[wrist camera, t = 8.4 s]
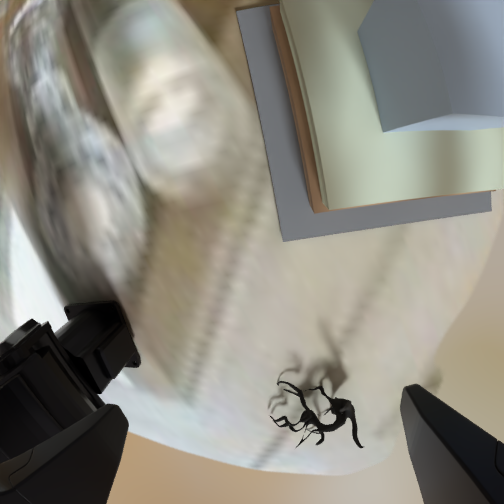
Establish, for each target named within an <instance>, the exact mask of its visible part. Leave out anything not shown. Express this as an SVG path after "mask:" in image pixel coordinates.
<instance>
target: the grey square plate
mask: <svg viewBox="0 0 504 504" xmlns="http://www.w3.org/2000/svg"><path fill="white" fill-rule="evenodd" d="M278 5H280V4H274V5H267V6H261V7H255V8H250V9H245V10H240V11H236V13H237V17H238V21H239V25H240V30H241V34H242V38H243V42H244V47H245V51H246V55H247V60H248V64H249V69H250V73H251V78H252V82H253V87H254V92H255V96H256V101H257V106H258V111H259V116H260V120H261V125H262V130H263V135H264V140H265V145H266V150H267V156H268V161H269V166H270V171H271V177H272V182H273V187H274V193H275V198H276V204H277V209H278V215H279V221H280V227H281V232H282V238H283V242H286V241H293V240H299V239H306V238H312V237H319V236H325V235H332V234H339V233H345V232H352V231H359V230H365V229H372V228H379V227H386V226H392V225H399V224H406V223H413V222H420V221H426V220H433V219H440V218H447V217H454V216H461V215H468V214H475V213H482V212H489V211H492V209H491V191H489V192H479V193H470V194H460V195H451V196H443V197H434V198H426V199H417V200H409V201H401V202H394V203H386V204H379V205H371V206H364V207H357V208H350V209H343V210H336V211H329V212H322V213H315V214H314V212H313V210H312V209H311V207H310V203H309V197H308V191H307V185H306V179H305V173H304V168H303V162H302V157H301V151H300V146H299V141H298V136H297V131H296V126H295V121H294V116H293V112H292V107H291V102H290V98H289V93H288V89H287V85H286V80H285V76H284V72H283V68H282V64H281V60H280V56H279V52H278V48H277V44H276V40H275V36H274V33H273V29H272V23H271V15H270V8H269V7H271V6H278Z"/></svg>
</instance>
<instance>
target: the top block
mask: <svg viewBox="0 0 504 504" xmlns="http://www.w3.org/2000/svg"><path fill="white" fill-rule="evenodd" d="M357 33H358V36H359V39H360V42H361V45H362V48H363V52H364V55H365V58H366V62H367V65H368V69H369V73H370V77H371V81H372V84H373V89H374V93H375V97H376V101H377V106H378V111H379V115H380V120H381V125H382V131H383V133H386V132H404V131H431V130H470V131H471V130H480V129H490V128H502V127H504V0H374V1H373V3H372V5H371V7H370V9H369V11H368V12H367V14H366V16H365V18H364V20H363V22H362V24H361V25H360V27H359V29H358V31H357Z"/></svg>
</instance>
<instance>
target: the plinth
mask: <svg viewBox="0 0 504 504" xmlns="http://www.w3.org/2000/svg"><path fill="white" fill-rule="evenodd" d="M373 1H374V0H279V2H280V5H278V6H271V7H269V8H270V15H271V23H272V29H273V33H274V36H275V40H276V44H277V48H278V52H279V56H280V60H281V64H282V68H283V72H284V76H285V80H286V85H287V89H288V93H289V98H290V102H291V107H292V112H293V116H294V121H295V126H296V131H297V136H298V141H299V146H300V151H301V157H302V162H303V168H304V173H305V179H306V185H307V191H308V197H309V203H310V207H311V209H312V210H313V212H314V214H315V213H322V212H329V211H336V210H343V209H350V208H357V207H364V206H371V205H379V204H386V203H394V202H401V201H409V200H417V199H426V198H434V197H443V196H451V195H460V194H470V193H479V192H489V191H496V190H498V189H504V127H502V128H490V129H480V130H471V131H470V130H431V131H404V132H386V133H383V131H382V125H381V120H380V115H379V111H378V106H377V101H376V97H375V93H374V89H373V84H372V81H371V77H370V73H369V69H368V65H367V62H366V58H365V55H364V52H363V48H362V45H361V42H360V39H359V36H358V33H357V31H358V29H359V27H360V25H361V24H362V22H363V20H364V18H365V16H366V14H367V12H368V11H369V9H370V7H371V5H372V3H373Z"/></svg>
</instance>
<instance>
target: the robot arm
mask: <svg viewBox="0 0 504 504" xmlns="http://www.w3.org/2000/svg"><path fill="white" fill-rule="evenodd" d="M112 306H113V307H114V308H112ZM69 310H70V311H69ZM64 311H65V313H66V316H67V318H68V322H67V323H66V324H65V325H63V326H62V327H61V328H60V329H59V330H57V331H56V332H55V333H54V332H53V331H52V329H51V328H52V327H51V325H50V324H49V322H48V321H47V322H45V323H43V324H40V323H38V322H36V321H35V320H33V319H30V320H28V321H27V322H26V323H24V324H23V325H22V326H20V327H19V328H18V329H16V330H15V331H14V332H13V333H11V334H10V335H9V336H8V337H7V338H6V339H5V340H4V341H3V342H1V343H0V504H106V503H107V500H108V497H109V494H110V491H111V488H112V485H113V482H114V478H115V476H116V473H117V470H118V467H119V464H120V461H121V456H122V453H123V448H124V444H125V440H126V435H127V431H128V427H129V423H128V420H127V418H126V417H125V415H124V414H123V412H122V410H121V409H120V407H119V406H118V405H115V404H105V403H104V402H103V401H102V399H101V398H100V397H99V396H98V394H102V392H103V391H104V390H105V388H106V387H107V386H108V384H109V383H110V382H111V380H112V379H115V378H116V377H117V375H118V374H119V373H120V371H121V370H122V369H123V367H132V368H137V367H139V366H140V364H141V360H140V358H139V355H138V353H137V351H136V348H135V346H134V344H133V341H132V339H131V336H130V334H129V331H128V329H127V326H126V324H125V321H124V319H123V316H122V313H121V311H120V308H119V305H118V304H117V303H116V302H115V301H103V302H91V303H79V304H68V305H66V306H65V307H64ZM400 411H401V416H402V421H403V426H404V430H405V435H406V440H407V445H408V451H409V455H410V458H411V461H412V465H413V468H414V471H415V474H416V477H417V481H418V484H419V487H420V491H421V494H422V498H423V501H424V504H504V444H503V443H502V442H501V441H497V439H496V438H495V437H493V436H492V435H490V434H489V433H487V432H486V431H484V430H483V429H482V428H480V427H479V426H477V425H476V424H474V423H473V422H471V421H470V420H469V419H467V418H466V417H464V416H463V415H461V414H460V413H458V412H457V411H456V410H454V409H453V408H451V407H450V406H448V405H447V404H445V403H444V402H443V401H441V400H440V399H438V398H437V397H436V396H434V395H433V394H431V393H430V392H428V391H427V390H426V389H424V388H423V387H421V386H420V385H418V384H412V385H409V386H405V387H404V388H403V392H402V398H401V404H400Z"/></svg>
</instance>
